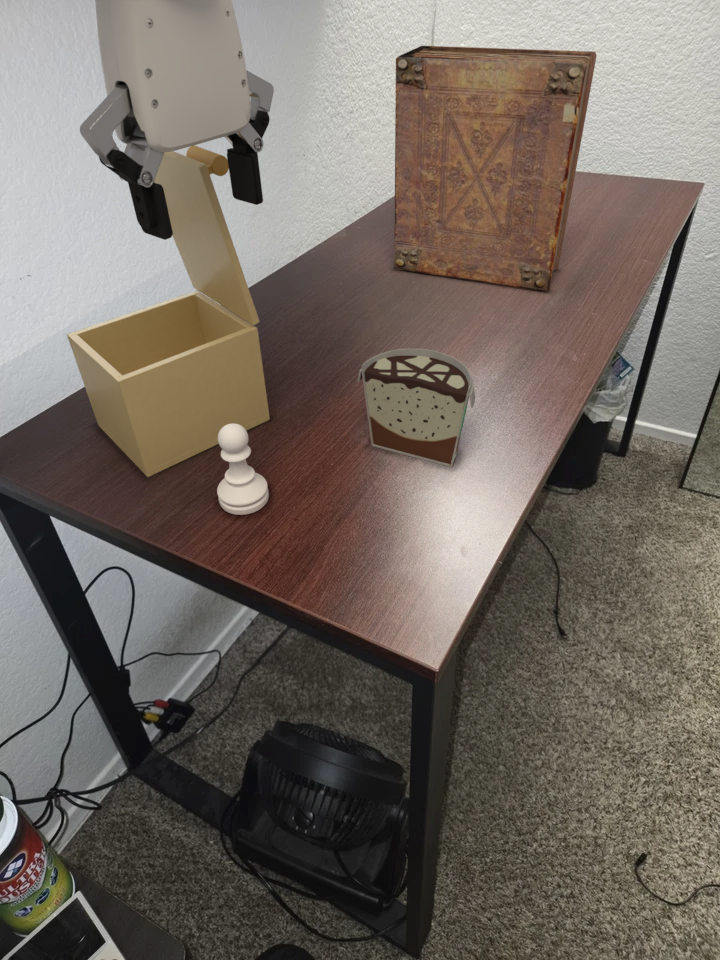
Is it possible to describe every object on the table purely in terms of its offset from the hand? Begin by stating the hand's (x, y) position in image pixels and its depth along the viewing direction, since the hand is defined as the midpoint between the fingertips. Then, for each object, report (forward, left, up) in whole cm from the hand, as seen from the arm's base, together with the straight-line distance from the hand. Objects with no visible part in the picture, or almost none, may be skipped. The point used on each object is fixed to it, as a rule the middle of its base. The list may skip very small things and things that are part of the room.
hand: (205, 217), depth 54 cm
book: (+55, +17, -26) cm, 63 cm away
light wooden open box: (-2, +11, -26) cm, 28 cm away
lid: (+4, +11, -5) cm, 13 cm away
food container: (+16, -10, -26) cm, 32 cm away
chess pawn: (-4, -5, -26) cm, 27 cm away
